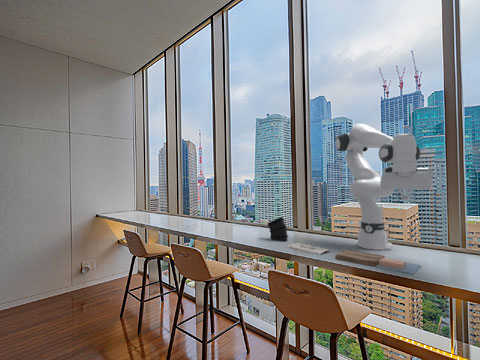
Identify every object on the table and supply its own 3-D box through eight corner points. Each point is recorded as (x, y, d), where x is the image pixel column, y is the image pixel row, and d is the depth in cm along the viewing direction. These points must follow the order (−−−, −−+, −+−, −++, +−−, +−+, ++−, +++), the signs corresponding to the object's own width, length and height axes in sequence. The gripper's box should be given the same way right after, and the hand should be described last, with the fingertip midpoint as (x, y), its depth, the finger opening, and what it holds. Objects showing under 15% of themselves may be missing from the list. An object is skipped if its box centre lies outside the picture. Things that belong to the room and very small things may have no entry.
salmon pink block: (378, 264, 119) (378, 260, 119) (383, 262, 123) (383, 257, 123) (401, 269, 112) (401, 264, 112) (405, 266, 117) (405, 261, 117)
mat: (386, 259, 128) (386, 259, 128) (421, 265, 118) (421, 265, 118) (375, 267, 116) (375, 266, 116) (413, 274, 107) (413, 273, 107)
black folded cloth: (289, 239, 168) (280, 217, 172) (273, 246, 175) (264, 224, 179) (292, 238, 171) (283, 216, 175) (276, 245, 178) (267, 223, 182)
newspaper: (332, 252, 145) (332, 247, 145) (319, 258, 137) (319, 253, 137) (298, 244, 162) (298, 240, 162) (285, 250, 155) (285, 245, 154)
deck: (346, 253, 140) (346, 249, 140) (384, 260, 128) (384, 255, 128) (335, 258, 130) (335, 254, 130) (375, 266, 117) (375, 261, 117)
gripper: (434, 168, 117) (434, 199, 117) (383, 170, 131) (383, 198, 131) (431, 167, 113) (432, 200, 112) (379, 169, 127) (379, 198, 127)
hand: (405, 199), depth 122 cm, fingers closed
